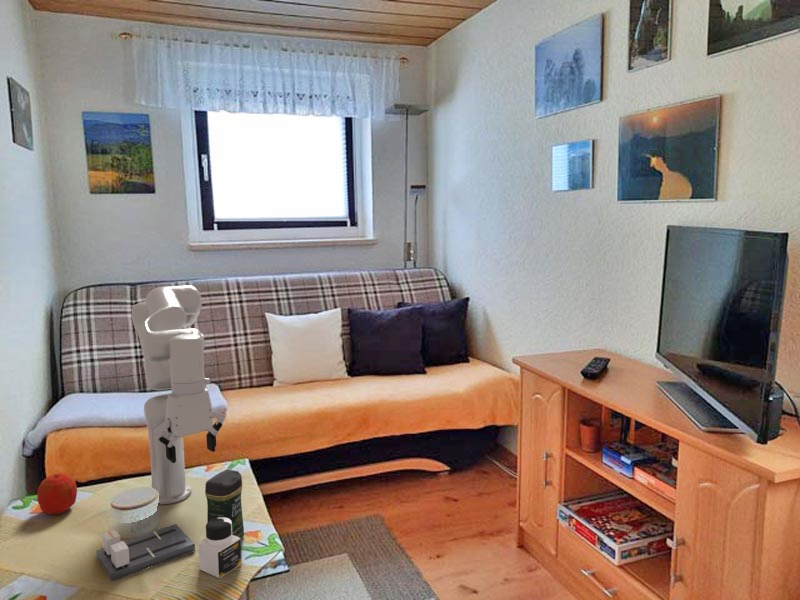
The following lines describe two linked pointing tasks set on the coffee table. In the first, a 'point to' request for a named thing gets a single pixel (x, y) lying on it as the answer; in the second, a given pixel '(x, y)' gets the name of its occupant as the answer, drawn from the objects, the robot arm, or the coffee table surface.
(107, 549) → the fader
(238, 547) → the medicine bottle
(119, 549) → the fader
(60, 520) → the coffee table surface
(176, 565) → the coffee table surface
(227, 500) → the coffee jar
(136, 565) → the console
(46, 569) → the coffee table surface
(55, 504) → the apple
